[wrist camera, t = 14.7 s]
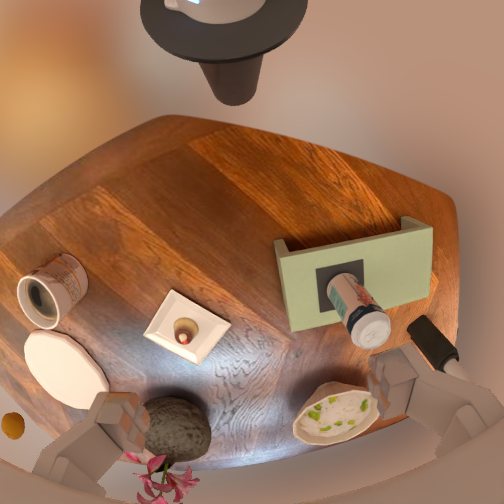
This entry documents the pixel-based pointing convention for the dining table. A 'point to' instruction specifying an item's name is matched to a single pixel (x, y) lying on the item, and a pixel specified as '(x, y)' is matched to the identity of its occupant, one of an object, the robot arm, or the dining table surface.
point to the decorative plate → (64, 368)
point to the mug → (52, 290)
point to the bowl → (335, 414)
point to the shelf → (356, 272)
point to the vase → (172, 445)
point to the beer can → (359, 311)
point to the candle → (437, 348)
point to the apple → (13, 425)
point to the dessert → (186, 328)
